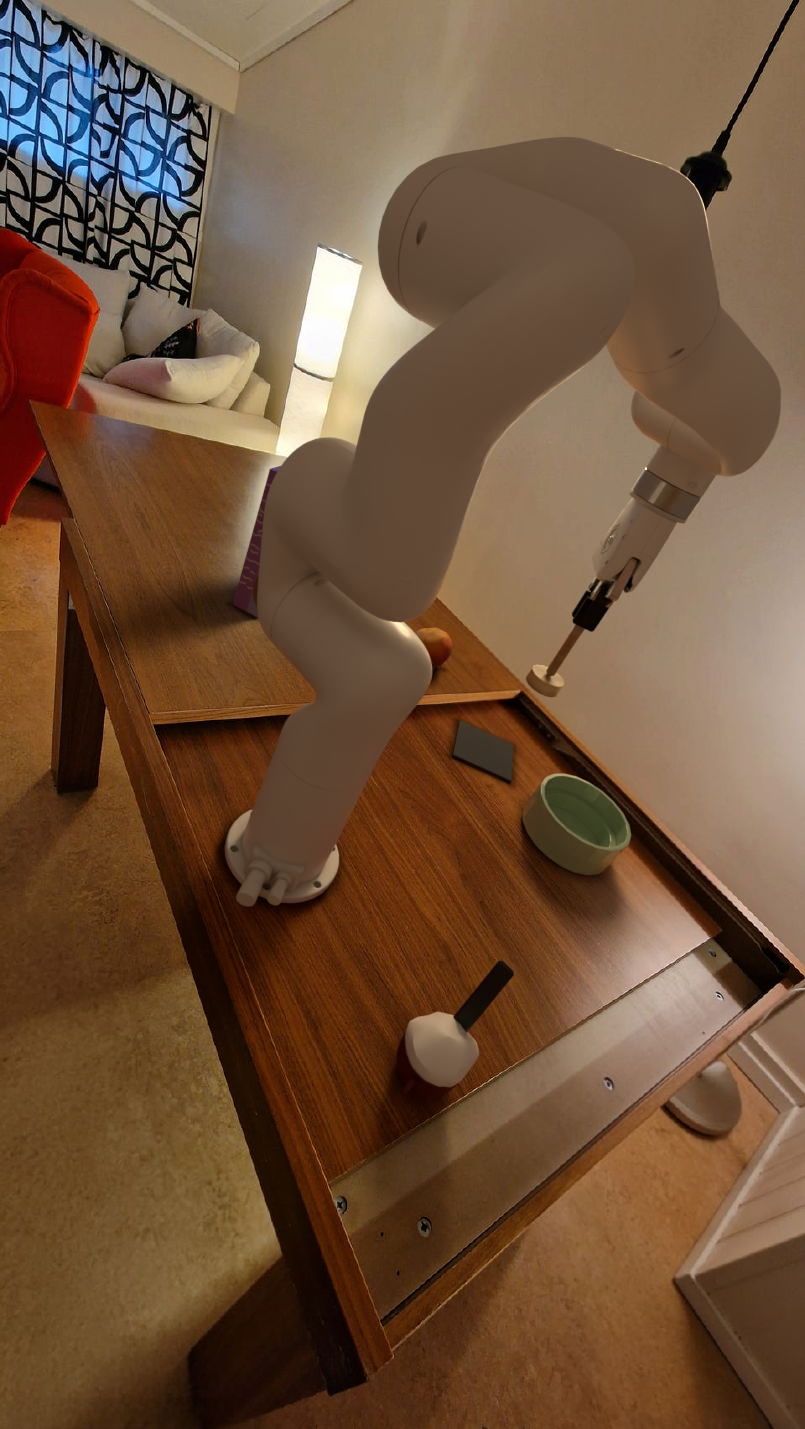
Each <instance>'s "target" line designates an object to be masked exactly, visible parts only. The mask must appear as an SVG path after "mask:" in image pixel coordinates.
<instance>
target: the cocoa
mask: <svg viewBox="0 0 805 1429" xmlns="http://www.w3.org/2000/svg"><path fill="white" fill-rule="evenodd" d="M514 976H515V972H514V970H513V969H512V968H511V967H510V966H509V965H508V964H506V962H505V961H503V960H498V961H497V962H496V963H495V965H494V966H492V968H491V969H490V970H489V972H488V973H487V974H486V975H485V977H484V978H483V979H482V980H481V981H480V983H479V984H478V985H477V987H476V988H474V991H473V992H472V993H471V994H470V995H469V997H468V998H467V999H466V1000H465V1002H464V1003H463V1004H462V1005H461V1006H460V1007H459V1009H458V1010H457V1012H455V1014H451V1013H446V1012H441V1011H435V1012H432V1013H430V1014H427V1015H421V1016H416V1017H414V1018H413V1019H411V1020H409V1021H408V1023H407V1027H406V1028H405V1031H404V1032H403V1034H402V1037H401V1039H400V1041H399V1044H398V1046H397V1050H396V1068H397V1071H398V1073H399V1076H400V1078H401V1080H402V1082H403V1083H404V1084H403V1087H402V1088H401V1090H400V1091H399V1095H400V1097H402V1098H405V1096H406V1095H407V1094H408V1093H409V1092H410V1091H411V1092H412V1093H414V1094H416V1095H418V1096H421V1097H423V1098H425V1099H427V1098H439V1097H442V1096H444V1095H446V1094H448V1093H450V1092H451V1091H452V1090H453V1089H454V1088H456V1087H457V1086H458V1085H459V1084H461V1083H462V1082H463V1081H464V1079H465V1078H466V1076H467V1075H468V1073H469V1072H470V1070H471V1069H472V1067H473V1066H474V1065H475V1063H476V1062H477V1060H478V1058H479V1056H480V1049H479V1046H478V1042H477V1041H476V1038H474V1037H473V1036H472V1035H471V1034H470V1033H469V1031H470V1030H471V1029H472V1027H473V1026H474V1024H475V1023H476V1022H477V1021H478V1020H479V1019H480V1018H481V1016H482V1015H483V1014H484V1012H485V1011H486V1010H487V1009H488V1008H489V1006H490V1005H491V1004H492V1003H493V1001H494V1000H495V999H496V998H497V997H498V995H499V994H500V993H501V992H502V991H503V989H504V988H505V987H506V986H507V985H508V983H509V982H510V981H511V980H512V979H513V977H514Z"/></svg>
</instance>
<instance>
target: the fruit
mask: <svg viewBox="0 0 805 1429" xmlns="http://www.w3.org/2000/svg"><path fill="white" fill-rule="evenodd" d="M414 633H415V634H416V635H417V636H418V638H419V639H420V640H421V641H422V643H423V644H424V646H425V648H426V649H427V651H428V654H429V656H430V659H431V663H432V671H433V670H434V669H436V668H438V667H440V668H441V669H443V667H442V665H444V664H445V662H446V661H448V660H449V658H450V656H451V655H452V652H453V641H452V638H451V636H450V635H449V633H448V632H446V631H444V630H442V629H440V628H438V627H428V628H427V627H426V628H420V629H418V630H417V631H414Z"/></svg>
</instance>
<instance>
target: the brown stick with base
mask: <svg viewBox="0 0 805 1429" xmlns="http://www.w3.org/2000/svg"><path fill="white" fill-rule="evenodd" d="M585 630H586V629H584V628H582V627H580V626H578V625H575V624H574V626H573V628H572V629H571V631H570V632H569V633H568V635H567V637H566V639H565V640H564V641H563V643H562V645H561V646H560V647H559V650H557V653H555V656H554V657H553V659H551V662H550V663H549V665H548V666H546V665H543V664H539V663H537V664H534V665H533V666H532V667H531V669H530V670H529V671H528V672H527V675H526V676H525V682H526V683H527V685H528V686H529V687H530V688H531V689H532V690H533V691H535V692H536V693H538V694H539V695H541V696H544V697H546V698H556V697H557V696H558V695H559V693H560V692H561V691H562V689H563V688H564V687H565V680H564V678H563V677H562V676H561V675H560V674H559V673H558V671H559V669H560V668H561V666H562V665H563V663H564V661H565V660H566V659H567V657H568V656H569V654H570V653H571V651H572V650H573V648H574V647H575V645H576V643H577V642H578V641H579V639H580V638H581V636H582V634H583V633H584V632H585Z"/></svg>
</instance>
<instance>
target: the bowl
mask: <svg viewBox="0 0 805 1429" xmlns="http://www.w3.org/2000/svg"><path fill="white" fill-rule="evenodd" d="M521 819H522V822H523V826H524V828H525V831H526V833H527V835H528V836H529V838H530V840H531V841H532V842H533V844H534V845H535V846H536V847H537V849H538V850H539V851H540V852H541V853H542V854H544V855H545V856H546V857H547V858H548V859H549V860H551V861H552V862H554V863H555V864H557V865H558V866H560V867H561V868H563V869H565V870H568V871H570V872H571V873H574V874H579V875H583V876H593V875H594V876H595V875H599V874H602V873H603V872H604V871H606V870H607V869H608V868H609V867H610V866H611V865H612V864H613V862H614V861H615V860H616V859H617V858H618V857H619V856H620V855H621V854H622V853H623V852H624V850H625V849H626V848H627V847H628V846H629V844H630V841H631V838H632V833H631V827H630V823H629V822H628V820H627V818H626V816H625V814H624V812H623V811H622V810H621V808H620V807H619V806H618V805H617V803H616V802H615V801H614V800H613V799H612V798H610V797H609V795H608V794H606V793H605V792H604V790H602V789H600V788H599V787H597V786H595V784H592V783H591V782H589V781H587V780H585V779H583V778H580V777H578V776H576V775H573V774H572V775H571V774H568V773H552V774H550V775H547V776H546V777H544V779H542V781H541V782H540V784H539V785H538V787H537V788H536V789H535V790H534V792H533V793H532V795H531V796H530V797H529V799H528V800H527V801H526V803H525V805H524V807H523V808H522V818H521Z"/></svg>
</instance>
